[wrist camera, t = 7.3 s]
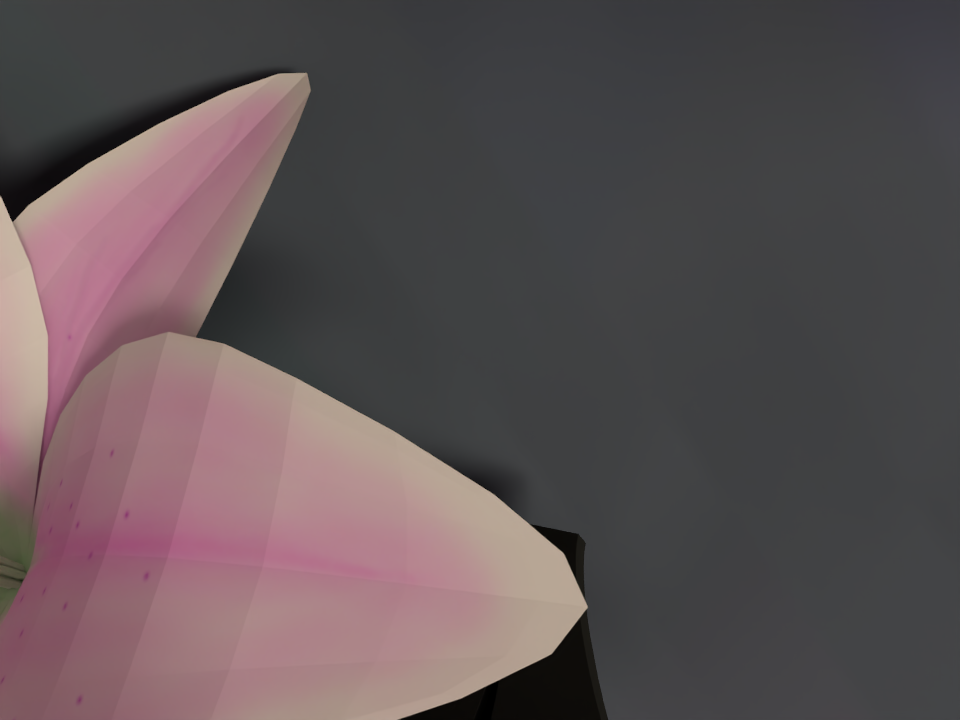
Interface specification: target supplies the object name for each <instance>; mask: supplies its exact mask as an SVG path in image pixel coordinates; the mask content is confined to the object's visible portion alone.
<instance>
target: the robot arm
mask: <svg viewBox="0 0 960 720" xmlns="http://www.w3.org/2000/svg"><path fill="white" fill-rule="evenodd" d="M529 525H531V524H529ZM531 526H532V527H533V528H534V529H535V530H537V531H538V532H539V533H540V534H541V535H542V536H544V537H545V538H546V539H547V540H548V541H550V542H551V543H552V544H553V545H554V546H555V547H557V548H558V549H559V550H560V551H561V552H563V553H564V555H565V557H566V559H567V562H568V564H569V566H570V568H571V571H572V573H573V575H574V577H575V580H576V582H577V584H578V586H579V588H580V591H581V593H582V595H583V597H584V600H585V591H584V550H585V544H586V543H585V542H584V540H583V539H582V538H581V537H580V535H579V534H576V533H571V532H566V531H561V530H556V529H551V528H546V527H541V526H536V525H531ZM585 602H586V601H585ZM398 720H608V717H607V714H606V710H605V706H604V702H603V698H602V693H601V689H600V685H599V680H598V675H597V670H596V665H595V660H594V654H593V649H592V644H591V639H590V633H589V626H588V619H587V611H586V610H585V612H584V613H583V614H582V615H581V617H580V618H579V619H578V621H577V622H576V623H575V625H574V626H573V627H572V628H571V630H570V631H569V632H568V634H567V635H566V636H565V637H564V639H563V640H562V641H561V643H560V644H559V645H558V647H557V648H556V649H555V650H554V652H553V653H552V654H551V655H549V656H547V657H545V658H543V659H541V660H539V661H537V662H535V663H533V664H531V665H529V666H526V667H524V668H522V669H520V670H518V671H516V672H514V673H512V674H510V675H508V676H506V677H504V678H502V679H500V680H498V681H496V682H494V683H492V684H490V685H488V686H486V687H483V688H481V689H479V690H477V691H475V692H473V693H471V694H469V695H467V696H465V697H463V698H461V699H458V700H455V701H452V702H449V703H446V704H443V705H440V706H437V707H434V708H431V709H428V710H425V711H422V712H419V713H416V714H413V715H410V716H407V717H404V718H401V719H398Z"/></svg>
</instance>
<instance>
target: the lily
mask: <svg viewBox="0 0 960 720" xmlns="http://www.w3.org/2000/svg"><path fill="white" fill-rule="evenodd" d="M310 91H311V89H310V85H309V80H308V75H307V73H282V74H276V75H273V76H270V77H268V78H265V79H262V80H259V81H256V82H253V83H250V84H247V85H244V86H241V87H238V88H235V89H232V90H230V91H227V92H225V93H223V94H221V95H219V96H217V97H215V98H212V99H210V100H208V101H206V102H204V103H202V104H200V105H198V106H195V107H193V108H191V109H189V110H187V111H185V112H183V113H181V114H178V115H176V116H174V117H172V118H170V119H168V120H166V121H164V122H161V123H159V124H158V125H156V126H154V127H152V128H151V129H149V130H147V131H145V132H143V133H142V134H140V135H138V136H136V137H135V138H133V139H131V140H129V141H127V142H126V143H124V144H122V145H120V146H119V147H117V148H115V149H113V150H111V151H110V152H108V153H106V154H104V155H102V156H101V157H99V158H97V159H95V160H94V161H92V162H90V163H88V164H87V165H85V166H84V167H82V168H81V169H80V170H78V171H77V172H75V173H74V174H72V175H71V176H70V177H68V178H67V179H65V180H64V181H62V182H61V183H60V184H58V185H57V186H55V187H54V188H52V189H51V190H50V191H48V192H47V193H45V194H44V195H42V196H41V197H40V198H38V199H37V200H35V201H34V202H32V203H31V204H30V205H28V206H27V208H26V209H25V210H24V211H23V212H22V213H21V214H20V215H19V216H18V217H17V218H16V219H15V220H14V222H13V223H12V221H11V219H10V216H9V214H8V212H7V209H6V207H5V205H4V202H3V200H2V198H1V197H0V720H398V719H401V718H404V717H407V716H410V715H413V714H416V713H419V712H422V711H425V710H428V709H431V708H434V707H437V706H440V705H443V704H446V703H449V702H452V701H455V700H458V699H461V698H463V697H465V696H467V695H469V694H471V693H473V692H475V691H477V690H479V689H481V688H483V687H486V686H488V685H490V684H492V683H494V682H496V681H498V680H500V679H502V678H504V677H506V676H508V675H510V674H512V673H514V672H516V671H518V670H520V669H522V668H524V667H526V666H529V665H531V664H533V663H535V662H537V661H539V660H541V659H543V658H545V657H547V656H549V655H551V654H552V653H553V652H554V650H555V649H556V648H557V647H558V645H559V644H560V643H561V641H562V640H563V639H564V637H565V636H566V635H567V634H568V632H569V631H570V630H571V628H572V627H573V626H574V625H575V623H576V622H577V621H578V619H579V618H580V617H581V615H582V614H583V613H584V612H585V610H586V609H587V608H588V606H587V604H586V602H585V600H584V597H583V595H582V593H581V591H580V588H579V586H578V584H577V582H576V580H575V577H574V575H573V573H572V571H571V568H570V566H569V564H568V562H567V559H566V557H565V555H564V553H563V552H561V551H560V550H559V549H558V548H557V547H555V546H554V545H553V544H552V543H551V542H550V541H548V540H547V539H546V538H545V537H544V536H542V535H541V534H540V533H539V532H538V531H537V530H535V529H534V528H533V527H532V526H531V525H529V524H528V523H527V522H526V521H525V520H524V519H522V518H521V517H520V516H519V515H518V514H516V513H515V512H514V511H513V510H512V509H511V508H509V507H508V506H507V505H506V504H505V503H503V502H502V501H501V500H500V499H499V498H497V497H496V496H495V495H494V494H492V493H491V492H489V491H488V490H486V489H484V488H483V487H481V486H480V485H478V484H477V483H475V482H473V481H472V480H470V479H469V478H467V477H465V476H464V475H462V474H461V473H459V472H458V471H456V470H454V469H453V468H451V467H450V466H448V465H446V464H445V463H443V462H442V461H440V460H439V459H437V458H435V457H434V456H432V455H431V454H429V453H427V452H426V451H424V450H423V449H421V448H419V447H418V446H416V445H415V444H413V443H412V442H410V441H408V440H407V439H405V438H404V437H402V436H400V435H399V434H397V433H396V432H394V431H392V430H390V429H389V428H387V427H385V426H383V425H381V424H379V423H378V422H376V421H374V420H372V419H370V418H368V417H367V416H365V415H363V414H361V413H359V412H357V411H356V410H354V409H352V408H350V407H348V406H346V405H345V404H343V403H341V402H339V401H337V400H335V399H334V398H332V397H330V396H328V395H326V394H324V393H323V392H321V391H319V390H317V389H315V388H313V387H312V386H310V385H308V384H306V383H304V382H302V381H301V380H299V379H297V378H295V377H293V376H291V375H289V374H287V373H284V372H282V371H280V370H278V369H276V368H274V367H272V366H270V365H268V364H266V363H264V362H261V361H259V360H257V359H255V358H253V357H251V356H249V355H247V354H245V353H243V352H241V351H238V350H236V349H234V348H232V347H230V346H228V345H226V344H223V343H219V342H214V341H209V340H205V339H200V338H196V336H197V334H198V332H199V330H200V328H201V326H202V324H203V322H204V320H205V318H206V316H207V314H208V312H209V310H210V308H211V306H212V304H213V302H214V300H215V298H216V296H217V294H218V292H219V290H220V288H221V286H222V284H223V282H224V280H225V278H226V276H227V275H228V273H229V271H230V269H231V267H232V265H233V262H234V260H235V258H236V256H237V254H238V252H239V250H240V248H241V246H242V244H243V242H244V240H245V237H246V235H247V233H248V231H249V229H250V227H251V225H252V223H253V221H254V219H255V217H256V215H257V212H258V210H259V208H260V206H261V204H262V202H263V200H264V198H265V196H266V194H267V192H268V189H269V187H270V185H271V183H272V181H273V178H274V176H275V174H276V172H277V169H278V167H279V165H280V163H281V161H282V158H283V156H284V154H285V152H286V150H287V147H288V145H289V143H290V141H291V138H292V136H293V134H294V132H295V130H296V127H297V125H298V122H299V119H300V117H301V114H302V112H303V109H304V107H305V104H306V101H307V99H308V96H309V94H310Z"/></svg>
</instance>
